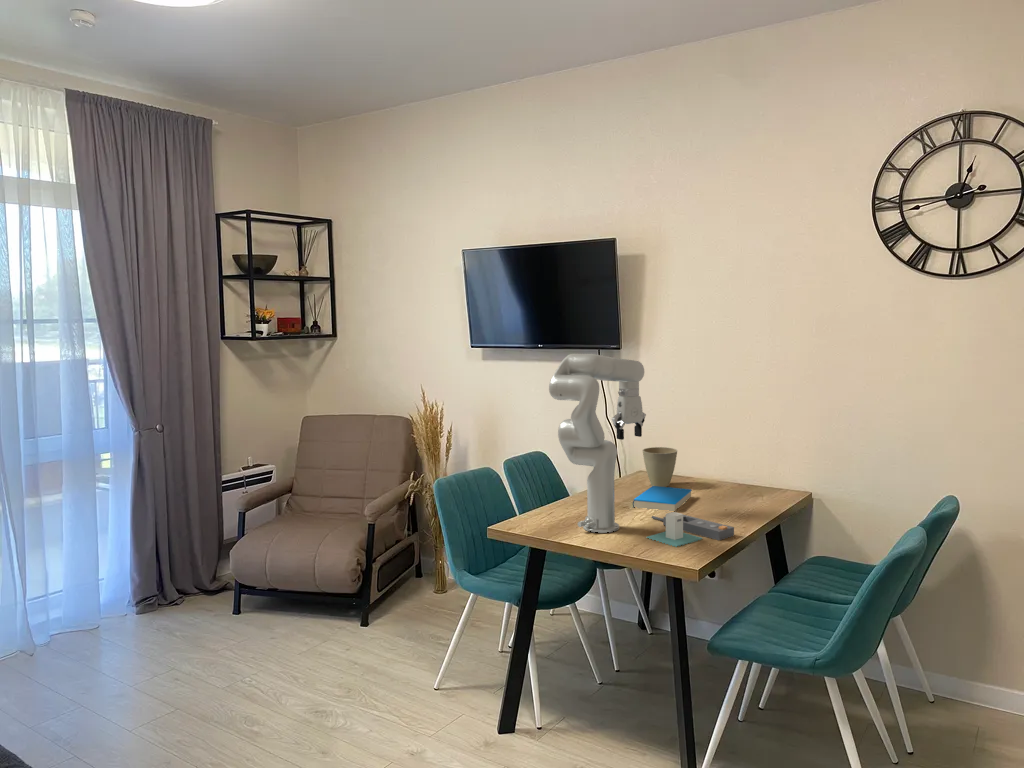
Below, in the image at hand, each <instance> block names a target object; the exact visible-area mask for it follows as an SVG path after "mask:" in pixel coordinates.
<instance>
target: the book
mask: <svg viewBox="0 0 1024 768" xmlns="http://www.w3.org/2000/svg"><path fill="white" fill-rule="evenodd" d="M690 497H691V498H692V489H690V488H682V487H681V488H679V487H671V486H668V487H660V486H652V485H651V486H650V487H649V488H648V489H646V490H644V491H643V492H641V494H639V495H638V496H636V497H635V498H633V501H632V508H634V507H637V508H636V509H640V508H647V509H646V510H649V509H659V510H669V511H675V510H676V509H677V508H679V507H680V506H681V505H682V504H683V503H684V502H685V501H686V500H688V499H689V498H690ZM691 498H690V499H691ZM690 499H689V500H690ZM689 500H688V501H689ZM685 503H686V502H685ZM685 503H684V504H685ZM684 504H683V505H684ZM683 505H682V506H683ZM682 506H681V507H682ZM681 507H680V508H681ZM680 508H679V509H680ZM659 510H658V511H659ZM669 511H668V512H669ZM676 511H677V510H676ZM676 511H675V512H676Z"/></svg>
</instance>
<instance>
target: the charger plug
mask: <svg viewBox="0 0 1024 768" xmlns="http://www.w3.org/2000/svg"><path fill="white" fill-rule="evenodd" d="M683 515H684V514H683V513H681V512H677V511H675V512H667V513H665V517H666V526H665V531H666V537H667V538H670V539H674V540H676V539H680V538H683V533H684V531H683Z"/></svg>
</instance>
